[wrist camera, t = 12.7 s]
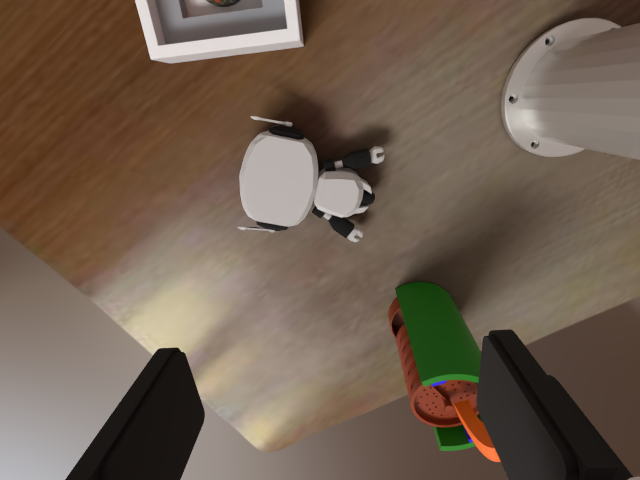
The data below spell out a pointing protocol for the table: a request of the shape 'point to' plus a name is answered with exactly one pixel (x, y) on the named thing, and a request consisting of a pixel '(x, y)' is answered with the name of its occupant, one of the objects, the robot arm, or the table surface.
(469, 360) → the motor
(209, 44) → the housing
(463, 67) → the table surface
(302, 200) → the robot toy
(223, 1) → the deodorant
